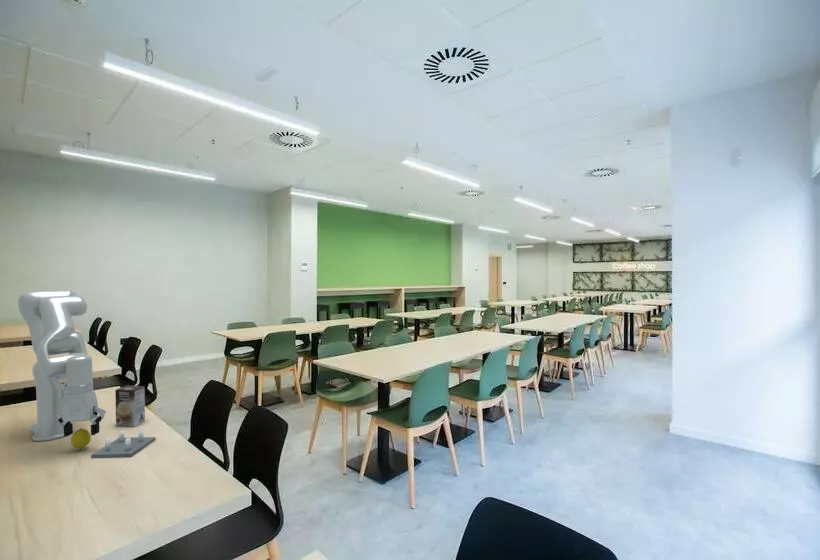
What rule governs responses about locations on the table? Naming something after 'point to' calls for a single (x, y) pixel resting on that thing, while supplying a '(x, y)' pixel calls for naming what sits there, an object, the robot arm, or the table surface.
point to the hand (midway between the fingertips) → (81, 434)
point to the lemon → (80, 438)
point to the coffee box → (130, 405)
